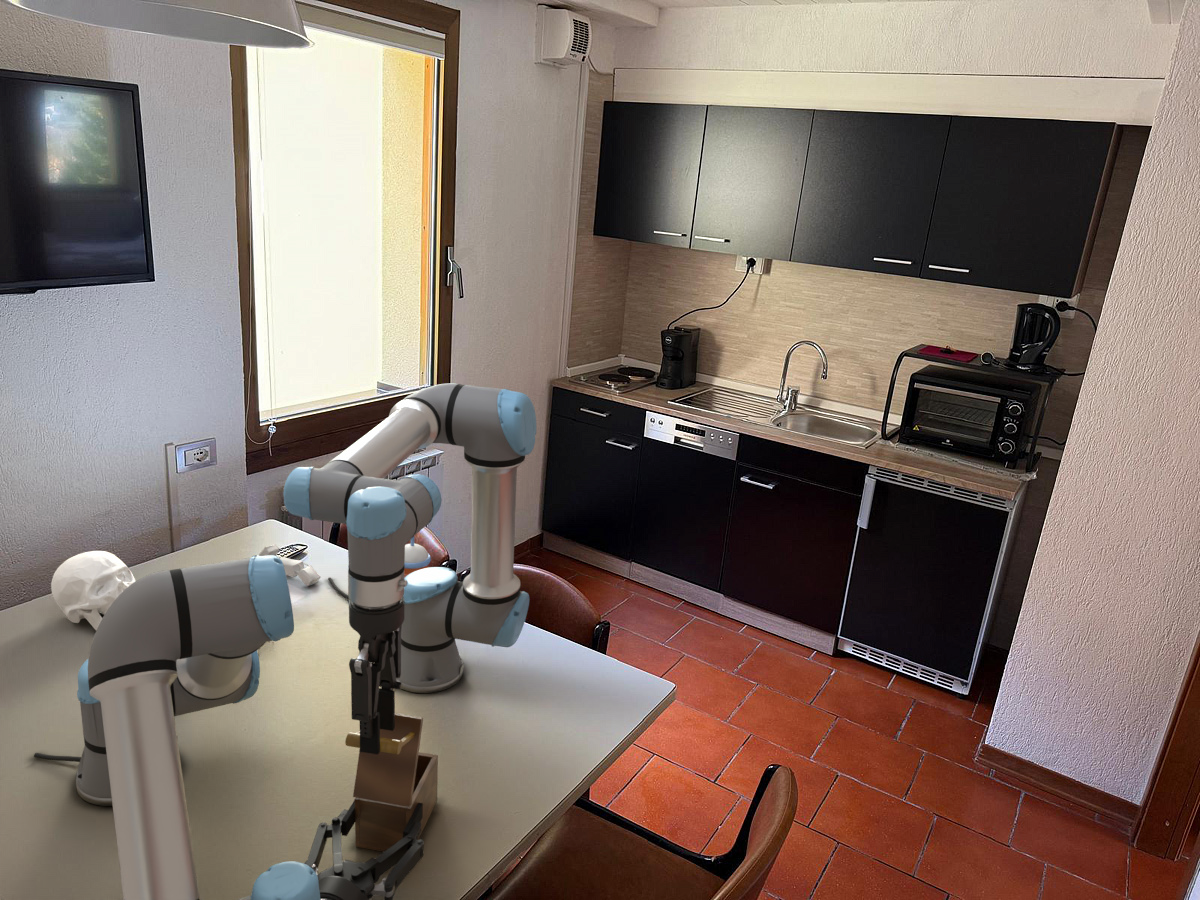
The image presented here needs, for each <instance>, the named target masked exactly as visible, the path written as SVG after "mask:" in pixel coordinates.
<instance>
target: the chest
mask: <svg viewBox="0 0 1200 900" xmlns="http://www.w3.org/2000/svg"><path fill="white" fill-rule="evenodd" d="M438 774H439V755H438V754H432V753H428V752H427V753H426V752H420V751H419V754H418V761H417V769H416V776H415V783H414V790H413V798H412V805H411V806H410V807H407V806H401V805H395V804H390V803H384V802H379V801H373V800H367V799H362V798H356V797H354V800H353V802H354V801H355V823H354V831H355V832H354V834H355V835H354V836H355V838H354V839H355V840H354V841H355V847H357V848H362V849H367V850H372V851H377V852H378V851H379V852H382V853H383V852H385V851H386V850H387V849H389V848H390V847H391V846H393V845H394V844H396V843H397V842H398V841H400V840H401V839H402V838H403V831H404V829H405V827H406V825H407V823H408V821H409V819H410V818H411V816H412V814H413V812H414V810H415V808H416V806H417V804H418V803H423V818H422V820H421V822H420V823H421V834H420V836H419V838H418V840H419V839H420V838H421V835H422V833H423V831H424V829H425V827H426V825H427V823H428V821H429V818H430V817H431V815H432V813H433V810H434V808H435V806H436V804H437V801H438V780H439V779H438V777H439V775H438Z"/></svg>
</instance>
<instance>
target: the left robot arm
mask: <svg viewBox="0 0 1200 900" xmlns="http://www.w3.org/2000/svg"><path fill="white" fill-rule="evenodd" d="M258 555H259V554H258ZM258 555H255V554H254V555H252V556H251V557H246V558H239V559H233V560H226V561H219V562H213V563H207V564H200V565H193V566H186V567H181V568H175V569H165V570H160V571H155V572H152V573H149V574H147V575H145V576H143V577H140V578H139V579H138V580H136V582H134V583H132V584H131V585H130V586H129V587H127V588H126V589H125V590H124V591H123V592H122V593H121V594H120V595H119V596H118V597H117V598H116V599H115V601H114V602H113V603H112V604H111V606H110V607H109V609H108V610H107V612H106V613H105V615H104V614H103V617H102V620H101V622H100V624H99V626H98V628H97V631H96V630H95V633H94V636H93V639H92V642H91V645H90V648H89V655H88V658H87V659H86V660H85V661H84V662H83V663H82V664H81V666H80V668H79V670H78V673H77V692H76V694H77V695H76V696H77V699H78V701H79V703H80V704H79V705H80V715H81V724H82V733H83V734H82V736H83V742H84V746H83V750H82V753H81V756H71V755H52V754H45V753H41V752H35V753H34V755H33V758H35V759H39V760H45V761H57V762H59V761H60V762H74V763H75V762H77V763H78V766H77V771H76V775H75V786H76V791H77V792H76V793H77V794H78V796H79V797H80V798H81V799H82V800H84V801H85V802H87V803H89V804H92V805H96V806H102V807H103V806H105V807H112V811H113V821H114V828H115V830H114V831H115V839H116V846H117V854H118V864H119V871H120V873H119V874H120V881H121V891H122V898H123V899H122V900H200V899H201V898H200V892H199V884H198V877H197V871H196V863H195V854H194V849H193V841H192V834H191V833H192V832H191V827H190V821H189V820H190V819H189V812H188V807H187V798H186V791H185V785H184V778H183V777H184V776H183V769H182V761H181V755H180V747H179V740H178V733H177V726H176V720H175V717H177V716H183V715H187V714H191V713H196V712H201V711H204V710H208V709H212V708H213V709H214V708H217V707H222V706H227V705H231V704H232V705H233V704H238V703H240V702H242V701H244V700H249V699H251V698H252V697H254V695H255V694H256V693H257V691H258V688H259V686H260V680H259V679H260V677H261V667H260V665H261V664H260V657H259V652H258V651H259V650H260V649H261V648H262V647H263V646H264V645H265V644H266V643H269V642H278V641H280V640H282V639H286V638H290V637H291V636H292V634H294V630H295V621H294V613H293V605H292V598H291V593H290V587H289V582H288V577H287V575H286V573H285V569H284V565H283V562H282V560H281V559H280V556H278V555H277V556H275V555H268V556H258ZM422 818H423V803H418V804H417V806H416V808H415V810H414V812H413V814H412V816H411V818H410V819H409V821H408V823H407V825H406V827H405V829H404V831H403V838H402V839H401V840H400V841H398V842H397V843H396V844H394V845H393V846H391V847H390V848H389V849H387V850H386V851H385V852H383V851H382V853H380V854H379V855H378V856H377V857H375V858H374V857H371V858H370V859H368V860H367V861H366V862H358V861H357V862H355V861H352V860H350V859H344V860H343V850H342V847H343V846H342V836H344V837H347V836H348V834H349V833H350V831H351V830H352V828H353V826H355V801H354V800H353V802H352V803H351V805H350V806H349V808H348V809H345V808H344V809H343V810H341V812H340V814H339V815H338V816H335V817H333V818H332V819H331V824H328V823H327V822H324V821H322V822H320V823H319V824H318V826H317V829H316V832H315V836H314V838H313V842H312V845H311V847H310V850H309V854H308V857H307V860H306V861H305V862H301V861H294V860H291V861H290V860H288V861H287V860H286V861H282V862H278V863H276V864H273V865H271V866H269V868H268V869H267V870H266V871H264V872H262V873H260V874H259V875H258V876H257V877H256V879H255V881H254V883H253V885H252V889H251V894H250V895H247V896H245V897H242V898H239V899H238V900H371V899H372V898H374V896H376V897H377V896H378V897H383V900H393V899H394V896H395V895H396V890H397V889H398V888H399V886H400V885H401V884H402V883H403V882H404V880H406V878H407V877H408V875H409V874H410V873H411V872H412V871H413V870H414V868H415V867H416V866H417V865H418V863H420V861H421V860H422V858H424V852H425V851H424V850H425V847H424V846H425V841H424V840H423V839H421V838H420V837H421V835H422V833H421V823H420V822H421V820H422ZM420 834H421V835H420ZM419 836H420V837H419ZM418 838H419V839H418ZM328 839H331V840H332V841H331V842H332V843H331V844H332V865H331V866H330V867H328V868H326V869H324V870H322V871H320V872H319V867H320V864H321V860H322V857H323V854H324V850H325V848H326V844H327V840H328ZM388 871H389V872H388ZM387 872H388V874H387V876H383V875H384V874H385V873H387ZM382 876H383V877H382ZM381 877H382V880H381V881H380V878H381ZM378 881H380V882H379V883H378V884H376V883H377V882H378Z"/></svg>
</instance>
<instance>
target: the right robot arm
mask: <svg viewBox="0 0 1200 900" xmlns="http://www.w3.org/2000/svg"><path fill="white" fill-rule="evenodd" d="M536 435H537V415H536V410H535V406H534V403H533V401H532V400H531V398H530V397H529V395H527V394H526V393H524V392H519V391H514V390H510V389H507V388H496V387H487V386H477V385H469V384H461V383H454V382H451V383H441V384H435V385H431V386H429V387H426V388H423V389H420V390H417V391H415V392H413V393H411V394H409V395H407V396H406V397H404V398H403V399H401V400H399V401H398V402H397V403H396V404H394V405H393V407H392V408H391V409H390V411H389V414H388V417H386V418H385V419H384V420H382V421H381V422H380V423H379V424H377V425H376V426H375V427H373V428H372V429H371V430H369V431H368V432H367V433H365V434H364V435H363V436H361V437H360V438H359V439H357V440H356V441H355V442H353V443H352V444H350V445H349V446H348V447H347V448H345V449H344V450H343V451H342V452H340V453H339V454H338V455H337V456H335V457H334V458H332V459H331V460H330V461H329V462H328V463H325V465H324V466H322V467H321V468H316V467H315V466H298V467H295V468H294V469H293V470H291V472H290V473H289V474H288V476H287V477H286V480H285V483H284V487H283V493H282V494H283V504H284V508H285V509H286V511H287V512H288V513H289V514H291V515H292V516H295V517H299V518H305V519H309V520H310V521H314V520H315V521H322V522H329V523H334V524H340V525H341V524H342V525H346V530H347V532H346V533H347V555H348V556H347V557H348V569H347V593H345V592H343V590H341V589H340V588H339V587H338V586H337V585H336V583H335V582H334V580H333V578H332V577H328V581H329V583H330V584H331V586H332V587H333V589H334V590H335V591H336V592H337V593H338V594H340V595H341V596H342V597H344V598H346V599H347V600H349V601H348V622H349V626H350V628H352V629H353V630H354V631H355V632H356V633H357V634H358V635H359V638H358V644H357V650H358V655H357V658H354V657H351V658H350V659H349V662H348V666H349V671H350V679H351V680H350V691H351V692H350V697H351V701H350V703H351V720H353V721H359V730H360V748H359V751H360V752H365V753H371V754H377V755H378V754H379V752H380V729H384V730H390V731H393V730H394V728H395V713H396V709H395V708H396V706H395V705H396V704H395V703H396V702H395V701H396V691H395V690H404V691H407V692H410V693H416V694H430V693H431V694H432V693H438V692H441V691H445V690H447V689H450V688H451V687H453V686H455V685H456V684H457V683H458V682H459V681H460V680H461V679H462V676H463V672H464V666H465V665H464V664H465V663H464V662H463V660H462V657H461V656H460V653H459V649H458V646H457V642H456V640H461V641H466V642H472V643H477V644H483V645H489V646H491V647H501V648H511V647H513V646H514V645H515V644H516V643H517V641H518V640H519V637H520V635H521V633H522V631H523V628H524V626H525V622H526V618H527V615H528V611H529V606H530V595H529V593H528V592H526V591H524V590H522V591H521V579H520V578H519V577H518V576H517V575H516V573H514V564H515V537H516V536H515V533H516V530H515V529H516V506H517V505H516V503H517V477H518V475H517V473H518V472H517V471H518V468H519V466H521V465H522V464H523V463H524V462H525V461H526V456H528V455H530V454H531V453H532V452H533V451H534V448H535V444H536ZM432 444H443V445H452V446H457V447H463V459H464V461H465V462H466V463H467V464H468V465H469V466H470V467H471V510H470V511H471V513H470V516H471V517H470V522H471V523H470V573H469V574H467V575H466V576H465V577H464V579H463V581H461V580H460V581H459V580H458V579H459V577H458V575H457V572H456V571H455V570H453V569H452V568H450V567H444V566H430V567H428V568H424V569H421V570H417V571H414V572H412V573H410V574H409V575H407V576H406V577H405V578H404V569H405V545H407V544H408V543H409V542H411V538H413V537H414V538H415V536H416V535H417V534H418V533H420V531H422V530H423V529H424V528H425V527H427V526H428V525H430V523H431V522H432V521H433V519H434V517H435V516H436V515H437V514H438V513H439V511H440V509H441V505H442V493H441V491H440V488H439V486H438V485H437V484H436V483H435V481H434V480H433V479H431V478H430V477H429V476H427V475H424V474H421V473H412V474H409V475H406V476H403V477H402V478H400V479H398V480H396V479H389V478H387V476H389V475H390V474H391V473H392V472H393V471H394V470H396V469H397V468H398V467H399V466H400V465H401V464H402V463H404V462H405V461H406V460H407V459H408V458H409V457H410V456H411V455H413V454H414V453H415V452H416V451H418V450H423V449H426V448H428V447H430V446H431V445H432Z"/></svg>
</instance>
